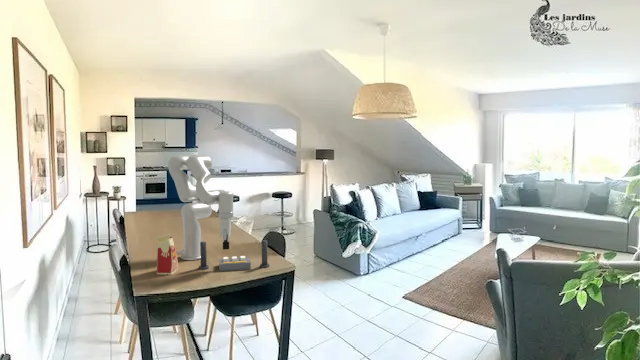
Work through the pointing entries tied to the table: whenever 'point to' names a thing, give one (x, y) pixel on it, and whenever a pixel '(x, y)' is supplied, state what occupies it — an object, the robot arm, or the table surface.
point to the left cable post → (203, 256)
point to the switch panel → (234, 263)
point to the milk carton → (166, 255)
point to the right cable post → (264, 255)
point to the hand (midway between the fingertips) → (226, 248)
